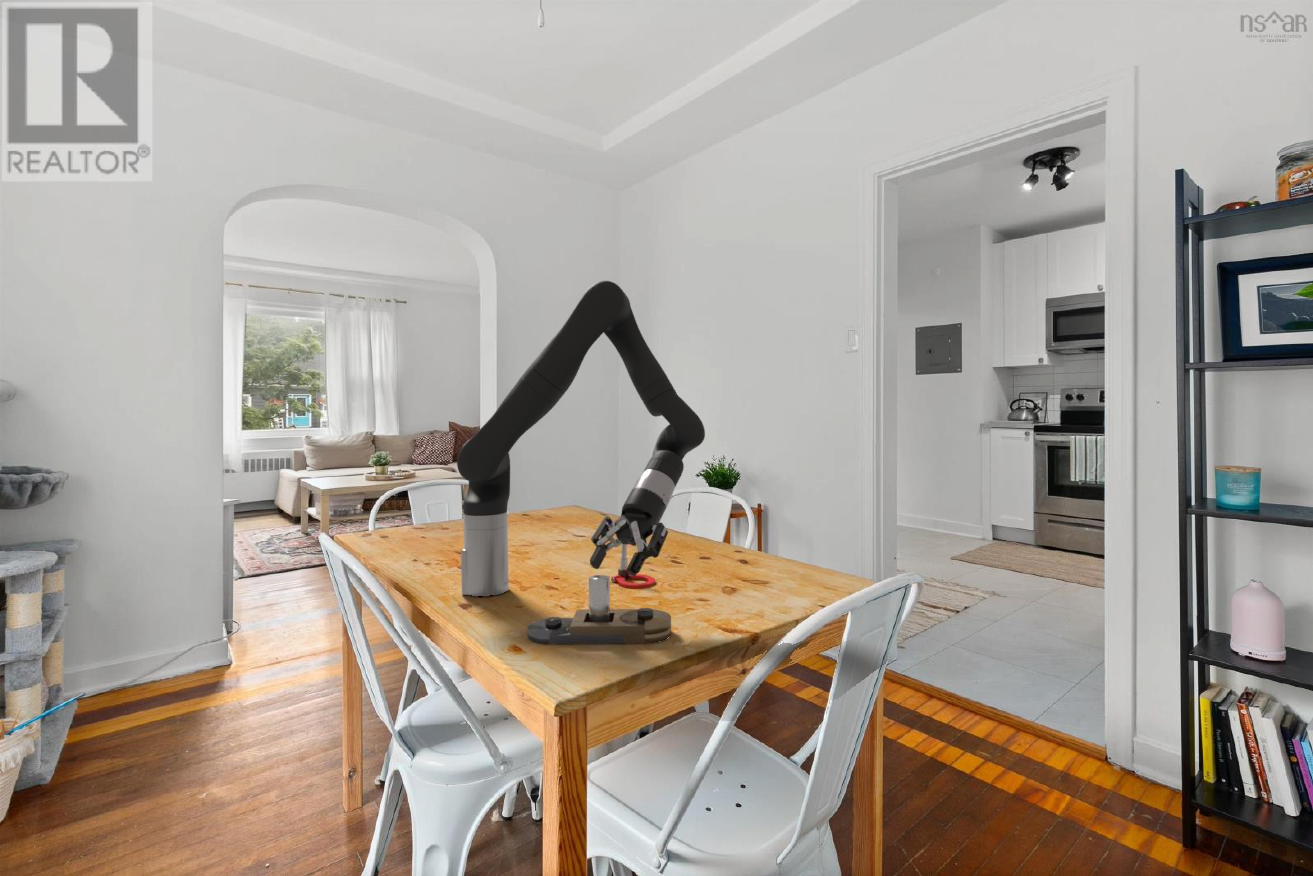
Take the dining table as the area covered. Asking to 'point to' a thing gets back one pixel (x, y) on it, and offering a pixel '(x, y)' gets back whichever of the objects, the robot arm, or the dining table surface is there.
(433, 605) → the dining table surface
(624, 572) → the tow hook
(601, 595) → the steel pin
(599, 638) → the square hole link plate
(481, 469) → the robot arm
